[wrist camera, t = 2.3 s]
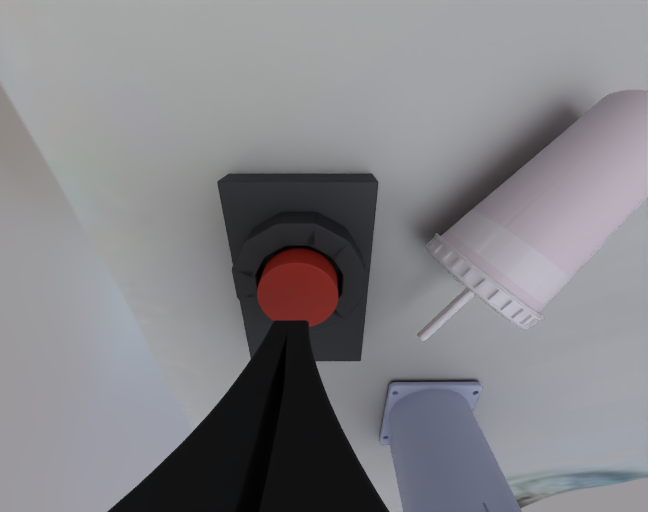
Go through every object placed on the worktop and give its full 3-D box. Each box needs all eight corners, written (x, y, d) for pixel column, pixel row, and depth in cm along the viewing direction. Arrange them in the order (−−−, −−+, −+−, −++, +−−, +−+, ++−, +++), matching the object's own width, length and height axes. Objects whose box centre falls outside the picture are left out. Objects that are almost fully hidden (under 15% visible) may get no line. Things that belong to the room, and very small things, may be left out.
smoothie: (580, 143, 15) (414, 308, 20) (553, 60, 12) (356, 286, 16) (748, 186, 11) (479, 389, 15) (790, 68, 7) (418, 384, 12)
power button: (336, 309, 15) (337, 328, 14) (266, 309, 15) (261, 328, 14) (338, 247, 14) (339, 262, 12) (258, 247, 14) (251, 263, 12)
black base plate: (357, 342, 21) (364, 382, 18) (256, 342, 21) (245, 382, 18) (372, 173, 15) (385, 190, 12) (228, 173, 15) (203, 190, 12)
